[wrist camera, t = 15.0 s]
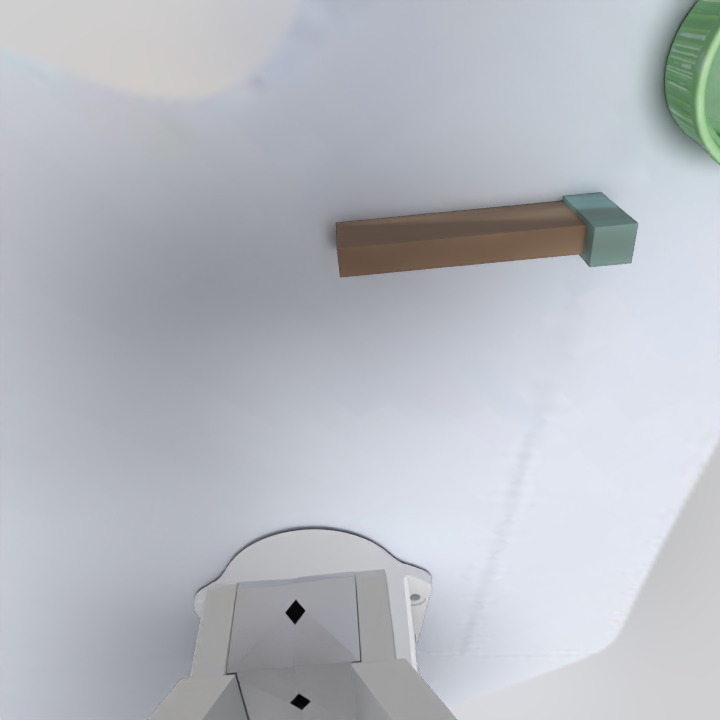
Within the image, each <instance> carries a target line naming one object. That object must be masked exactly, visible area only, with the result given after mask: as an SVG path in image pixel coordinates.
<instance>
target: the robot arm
mask: <svg viewBox="0 0 720 720" xmlns="http://www.w3.org/2000/svg"><path fill="white" fill-rule="evenodd" d="M431 591H432V578H431V575H430V574H429V573H428V572H426V571H424V570H422V569H419V568H416V567H413V566H410V565H407V564H404V563H401V562H399V561H398V560H396V559H395V558H393V557H392V556H391V555H390V554H389V553H387V552H386V551H385V550H384V549H382V548H381V547H379V546H378V545H376V544H374V543H372V542H370V541H368V540H366V539H364V538H361V537H358V536H355V535H352V534H348V533H344V532H339V531H332V530H318V529H311V530H297V531H290V532H285V533H280V534H277V535H273V536H270V537H267V538H265V539H262V540H260V541H258V542H256V543H254V544H252V545H250V546H249V547H247V548H246V549H244V550H243V551H241V552H240V553H239V554H238V555H237V556H236V557H235V558H234V559H233V560H232V561H231V562H230V564H229V565H228V567H227V568H226V570H225V571H224V573H223V574H222V576H221V577H220V578H219V579H218V580H217V581H215V582H213V583H211V584H209V585H208V586H206V587H205V588H203V589H201V590H200V591H199V592H198V593H197V594H196V595H195V602H194V610H195V612H196V614H197V615H198V616H199V618H200V624H199V630H198V635H197V640H196V646H195V651H194V657H193V662H192V667H191V673H190V678H187V679H180V680H179V682H178V683H177V684H176V685H175V687H174V688H173V689H172V690H171V691H170V693H169V694H168V695H167V696H166V698H165V699H164V700H163V701H162V703H161V704H160V705H159V706H158V708H157V709H156V710H155V711H154V712H153V714H152V715H151V716H150V717H149V719H148V720H457V719H456V718H455V717H454V715H453V714H452V713H451V712H450V711H449V709H448V708H447V707H446V706H445V705H444V703H443V702H442V701H441V700H440V699H439V697H438V696H437V695H436V694H435V693H434V691H433V690H432V689H431V688H430V687H429V685H428V684H427V683H426V682H425V681H424V679H423V678H422V677H421V676H420V669H419V667H418V666H417V661H416V651H415V649H416V645H417V642H418V638H419V635H420V631H421V627H422V624H423V620H424V617H425V613H426V609H427V606H428V602H429V599H430V595H431Z"/></svg>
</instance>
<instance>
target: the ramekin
mask: <svg viewBox="0 0 720 720" xmlns="http://www.w3.org/2000/svg"><path fill="white" fill-rule="evenodd" d="M665 94H666V99H667V104H668V107H669V110H670V112H671V115H672V116H673V118H674V119H675V121H676V123H677V124H678V126H679V127H680V128H681V129H682V130H683V131H684V132H685V133H686V134H687V135H688V136H689V137H691V138H692V139H693V140H695V141H696V142H698V143H699V144H700V145H702V146H703V147H704V149H705V151H706V152H707V153H708V154H709V155H710V156H711V157H712V158H713V159H714V160H715V161H716V162H717V163H718V164H719V165H720V0H699V1H698V2H697V3H696V4H695V5H694V7H693V8H692V9H691V11H690V12H689V14H688V15H687V17H686V18H685V20H684V21H683V23H682V25H681V26H680V28H679V30H678V32H677V34H676V37H675V39H674V41H673V44H672V47H671V50H670V53H669V56H668V59H667V65H666V72H665Z"/></svg>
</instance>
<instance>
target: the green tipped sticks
mask: <svg viewBox="0 0 720 720" xmlns="http://www.w3.org/2000/svg"><path fill="white" fill-rule="evenodd" d="M637 228H638V223H637V222H636V221H635V220H634V219H633V218H631V217H630V216H629V215H628V214H627V213H625V212H624V211H623V210H622V209H621V208H619V207H618V206H617V205H616V204H615V203H613V202H612V201H611V200H610V199H609V198H608V197H606V196H605V195H604V194H603V193H602V192H601V193H591V194H581V195H571V196H563V201H556V202H546V203H536V204H525V205H515V206H505V207H494V208H484V209H474V210H463V211H453V212H443V213H433V214H422V215H412V216H402V217H391V218H381V219H371V220H360V221H350V222H340V223H336V236H337V254H338V263H339V272H340V277H349V276H359V275H370V274H380V273H390V272H401V271H411V270H421V269H432V268H442V267H453V266H463V265H473V264H484V263H494V262H505V261H515V260H525V259H536V258H546V257H556V256H567V255H577V254H579V255H580V256H581V258H582V259H583V260H584V261H585V262H586V263H587V265H588V266H589V267H596V266H607V265H617V264H627V263H631V262H632V256H633V251H634V245H635V239H636V234H637Z"/></svg>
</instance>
